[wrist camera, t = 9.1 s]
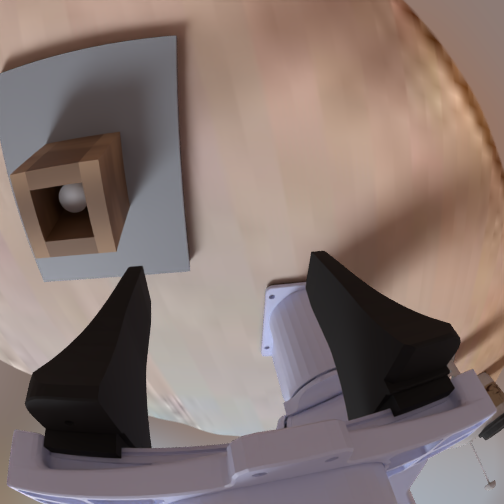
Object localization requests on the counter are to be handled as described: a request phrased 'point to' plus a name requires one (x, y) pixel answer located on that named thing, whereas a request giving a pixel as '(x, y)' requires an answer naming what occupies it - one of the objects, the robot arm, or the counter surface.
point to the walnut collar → (95, 190)
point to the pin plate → (102, 122)
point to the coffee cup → (500, 400)
